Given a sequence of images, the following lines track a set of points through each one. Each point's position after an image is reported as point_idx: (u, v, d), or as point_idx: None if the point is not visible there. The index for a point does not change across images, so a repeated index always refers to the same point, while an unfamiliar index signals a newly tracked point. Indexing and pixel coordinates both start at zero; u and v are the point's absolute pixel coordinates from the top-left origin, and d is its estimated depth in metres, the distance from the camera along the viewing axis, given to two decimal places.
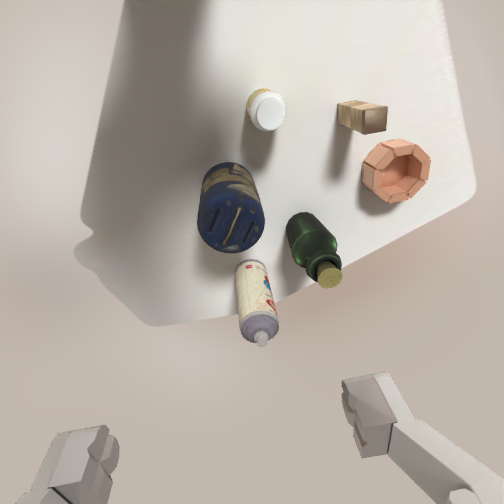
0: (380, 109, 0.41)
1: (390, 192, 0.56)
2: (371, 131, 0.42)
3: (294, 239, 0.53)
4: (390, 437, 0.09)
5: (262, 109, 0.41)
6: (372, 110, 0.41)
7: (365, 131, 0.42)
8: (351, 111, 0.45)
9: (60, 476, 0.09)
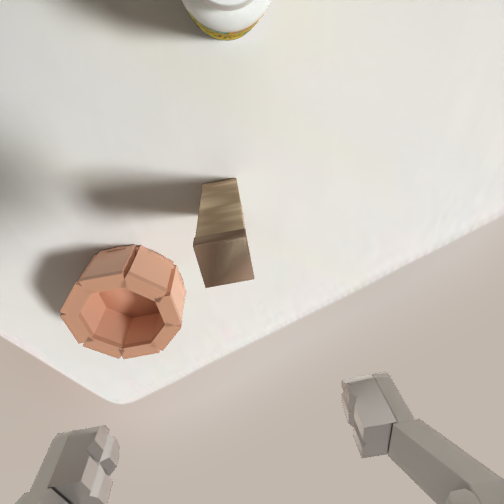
0: (248, 266, 0.18)
1: (86, 309, 0.28)
2: (201, 259, 0.18)
3: None
4: (390, 437, 0.09)
5: None
6: (246, 251, 0.18)
7: (200, 246, 0.17)
8: (232, 205, 0.22)
9: (60, 475, 0.09)
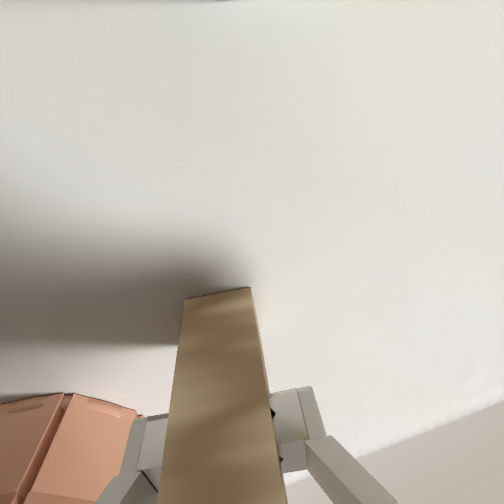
0: None
1: None
2: None
3: None
4: (306, 453, 0.09)
5: None
6: None
7: None
8: (251, 424, 0.08)
9: (148, 459, 0.09)
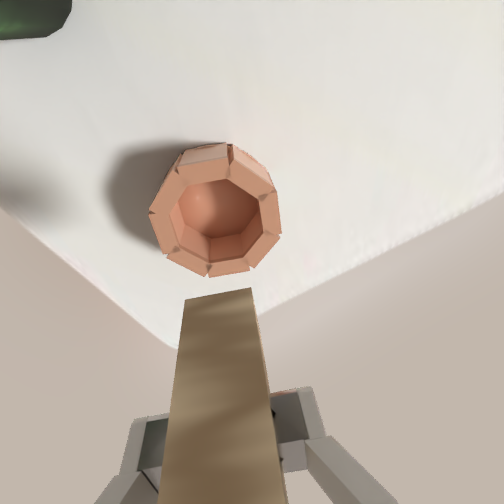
0: None
1: (172, 214, 0.25)
2: None
3: None
4: (306, 453, 0.09)
5: None
6: None
7: None
8: (252, 425, 0.08)
9: (147, 459, 0.09)
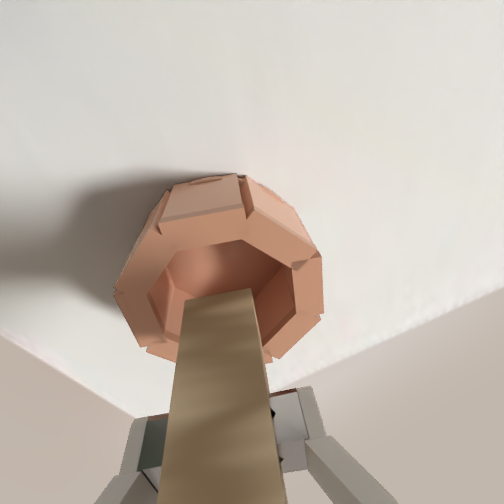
0: None
1: (155, 285, 0.16)
2: None
3: None
4: (306, 453, 0.09)
5: None
6: None
7: None
8: (251, 426, 0.08)
9: (147, 459, 0.09)
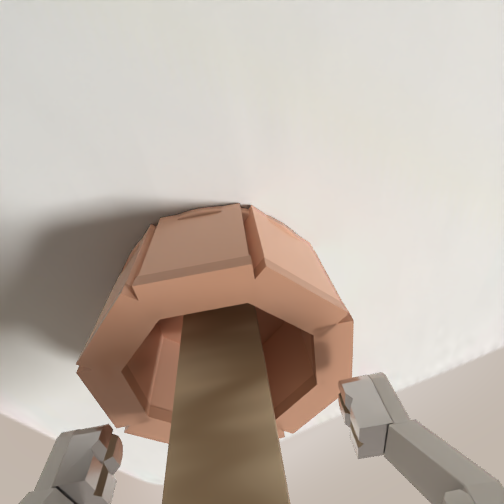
0: None
1: None
2: None
3: None
4: (387, 438, 0.09)
5: None
6: None
7: None
8: (251, 396, 0.09)
9: (65, 474, 0.09)
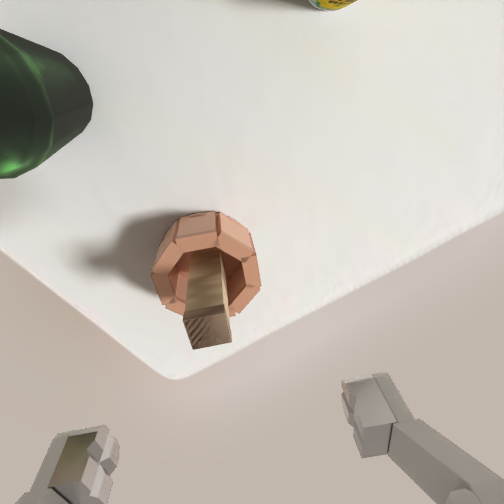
0: (227, 333, 0.23)
1: (170, 271, 0.29)
2: (189, 329, 0.23)
3: None
4: (391, 437, 0.09)
5: None
6: (225, 322, 0.23)
7: (188, 321, 0.22)
8: (215, 277, 0.26)
9: (60, 475, 0.09)
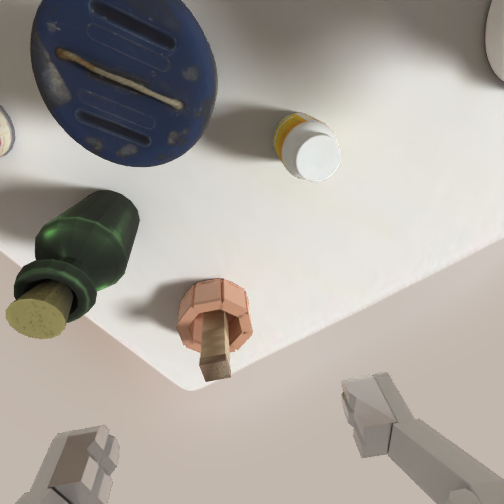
0: (227, 372, 0.36)
1: None
2: (203, 370, 0.35)
3: (94, 216, 0.28)
4: (391, 437, 0.09)
5: (328, 144, 0.25)
6: (226, 366, 0.35)
7: (203, 365, 0.35)
8: (220, 330, 0.39)
9: (60, 475, 0.09)
